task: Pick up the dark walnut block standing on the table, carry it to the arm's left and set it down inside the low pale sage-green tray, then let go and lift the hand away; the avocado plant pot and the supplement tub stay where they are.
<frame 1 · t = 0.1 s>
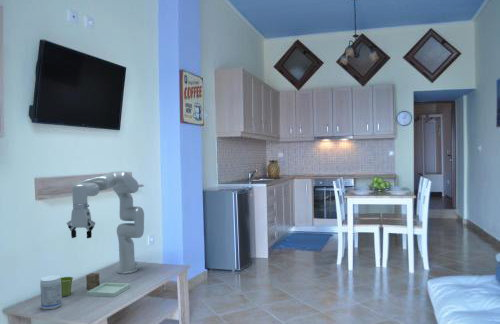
hand: (81, 237, 227), 31 cm above the table, tool pointing down, fingers open, 9 cm apart
sage tray: (109, 291, 230), on the table
plant pot: (64, 295, 227), on the table
walnut block: (93, 288, 237), on the table
supplement tub: (51, 307, 209), on the table
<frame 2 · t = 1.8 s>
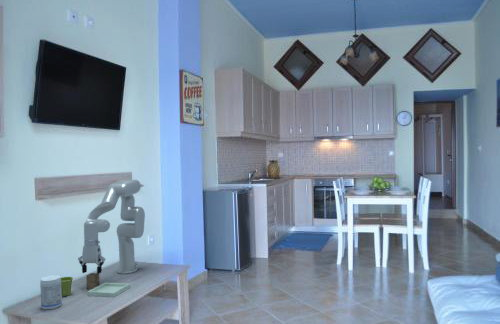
hand: (91, 272, 236), 9 cm above the table, tool pointing down, fingers open, 9 cm apart
nothing on the table moved.
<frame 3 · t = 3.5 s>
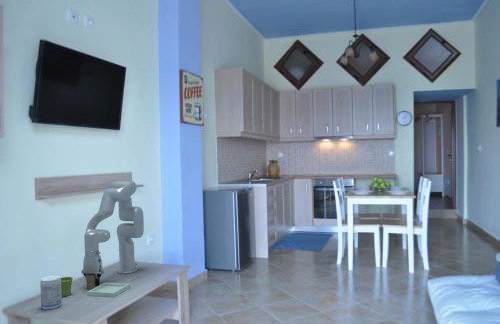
hand: (93, 284, 237), 2 cm above the table, tool pointing down, fingers closed on walnut block, 5 cm apart
walnut block: (93, 288, 237), on the table, touching gripper
everything else where it was.
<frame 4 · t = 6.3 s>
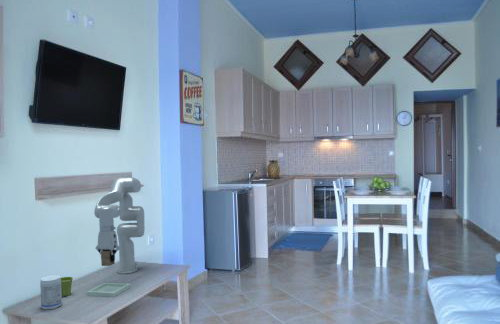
hand: (108, 261, 230), 17 cm above the table, tool pointing down, fingers closed on walnut block, 5 cm apart
walnut block: (108, 264, 230), point 15 cm above the table, touching gripper
everything else where it was.
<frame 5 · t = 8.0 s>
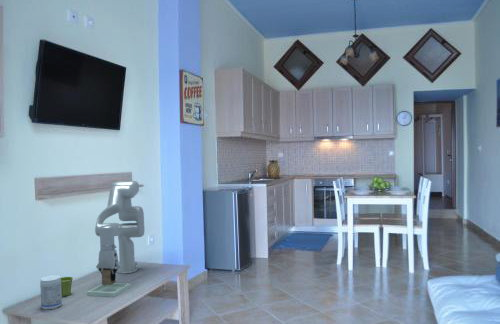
hand: (108, 279, 230), 6 cm above the table, tool pointing down, fingers closed on walnut block, 5 cm apart
walnut block: (108, 283, 230), point 5 cm above the table, touching gripper
everything else where it was.
when the fingers open (4 cm above the table, at t = 9.4 s): walnut block drops 1 cm, resting on sage tray.
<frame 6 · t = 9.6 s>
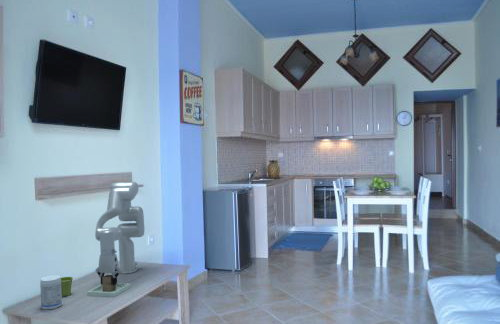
hand: (109, 283, 230), 4 cm above the table, tool pointing down, fingers open, 6 cm apart
walnut block: (109, 290, 230), point 1 cm above the table, touching sage tray
everything else where it was.
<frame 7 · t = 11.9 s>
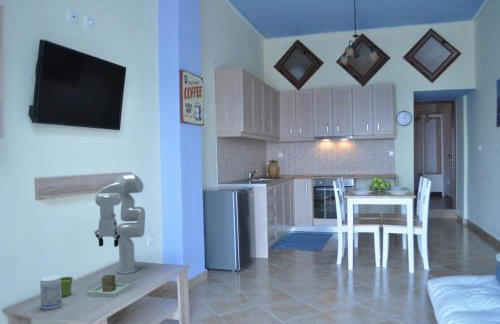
hand: (108, 246, 236), 24 cm above the table, tool pointing down, fingers open, 9 cm apart
nothing on the table moved.
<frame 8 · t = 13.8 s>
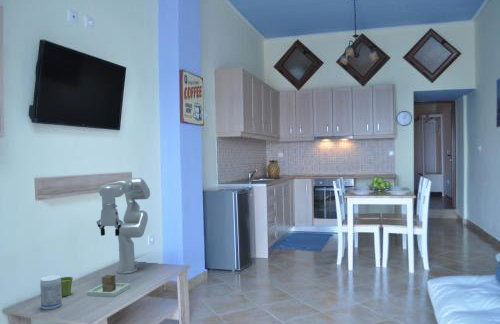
hand: (110, 235, 246), 28 cm above the table, tool pointing down, fingers open, 9 cm apart
nothing on the table moved.
at the end: walnut block 0.1 cm from the sage tray (horizontally); walnut block tilted 0°; the gripper is holding nothing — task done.
